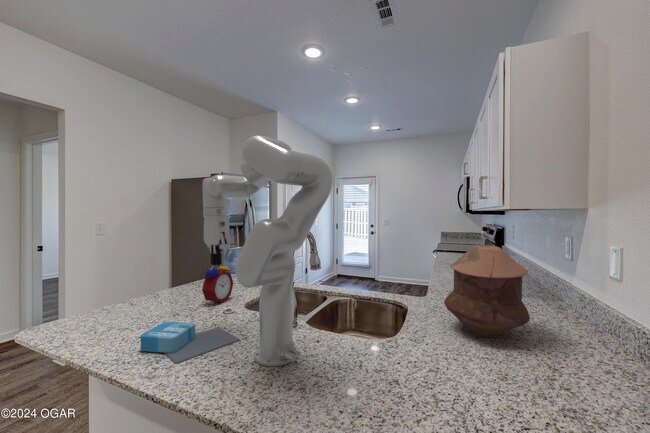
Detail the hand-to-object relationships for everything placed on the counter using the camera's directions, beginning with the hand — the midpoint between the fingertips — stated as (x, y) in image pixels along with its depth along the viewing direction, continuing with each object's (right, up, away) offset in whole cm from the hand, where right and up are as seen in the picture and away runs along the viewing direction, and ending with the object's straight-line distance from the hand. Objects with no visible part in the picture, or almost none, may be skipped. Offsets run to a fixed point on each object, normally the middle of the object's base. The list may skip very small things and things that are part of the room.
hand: (216, 264), depth 103 cm
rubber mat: (-2, -24, -10) cm, 26 cm away
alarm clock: (-12, -23, +34) cm, 43 cm away
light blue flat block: (-10, -21, -4) cm, 24 cm away
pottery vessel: (+94, -23, -3) cm, 97 cm away
